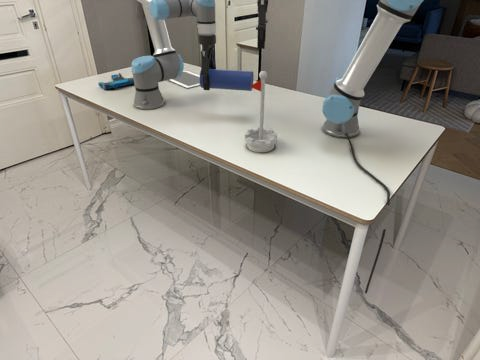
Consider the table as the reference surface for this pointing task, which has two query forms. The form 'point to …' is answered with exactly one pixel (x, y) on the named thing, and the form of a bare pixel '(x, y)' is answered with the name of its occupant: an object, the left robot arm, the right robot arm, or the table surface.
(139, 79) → the left robot arm
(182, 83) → the tablet
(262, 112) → the flag stand
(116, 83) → the submachine gun
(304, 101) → the table surface
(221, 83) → the rod
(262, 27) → the right robot arm
